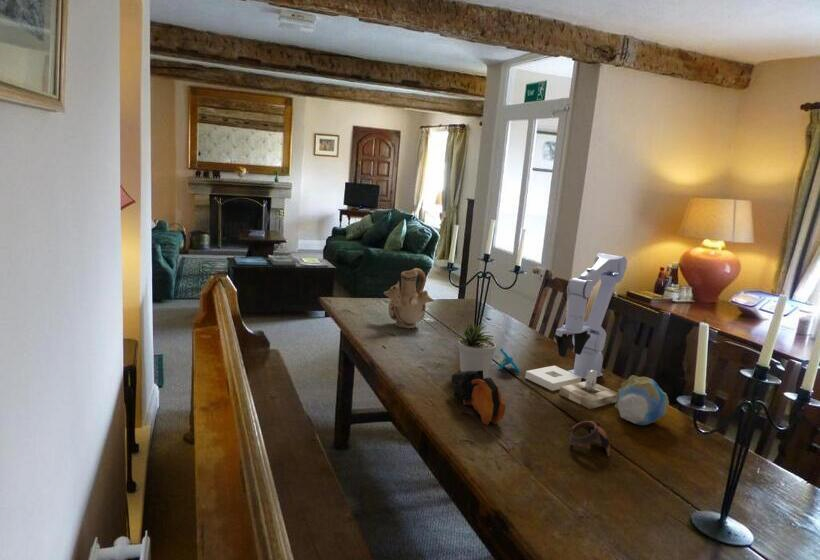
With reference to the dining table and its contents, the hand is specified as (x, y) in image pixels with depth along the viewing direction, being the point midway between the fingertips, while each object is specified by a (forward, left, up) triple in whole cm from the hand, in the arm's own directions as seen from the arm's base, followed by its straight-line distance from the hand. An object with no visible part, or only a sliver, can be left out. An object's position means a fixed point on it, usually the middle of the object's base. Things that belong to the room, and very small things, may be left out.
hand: (569, 355), depth 184 cm
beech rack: (+2, +11, -10) cm, 15 cm away
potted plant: (+25, -19, -11) cm, 33 cm away
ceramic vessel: (+15, -77, -11) cm, 79 cm away
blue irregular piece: (+8, -19, -11) cm, 23 cm away
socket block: (+2, -4, -10) cm, 11 cm away
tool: (+41, +2, -11) cm, 43 cm away
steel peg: (+2, +11, -10) cm, 15 cm away
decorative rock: (+2, +28, -11) cm, 30 cm away
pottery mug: (+29, +33, -11) cm, 45 cm away
